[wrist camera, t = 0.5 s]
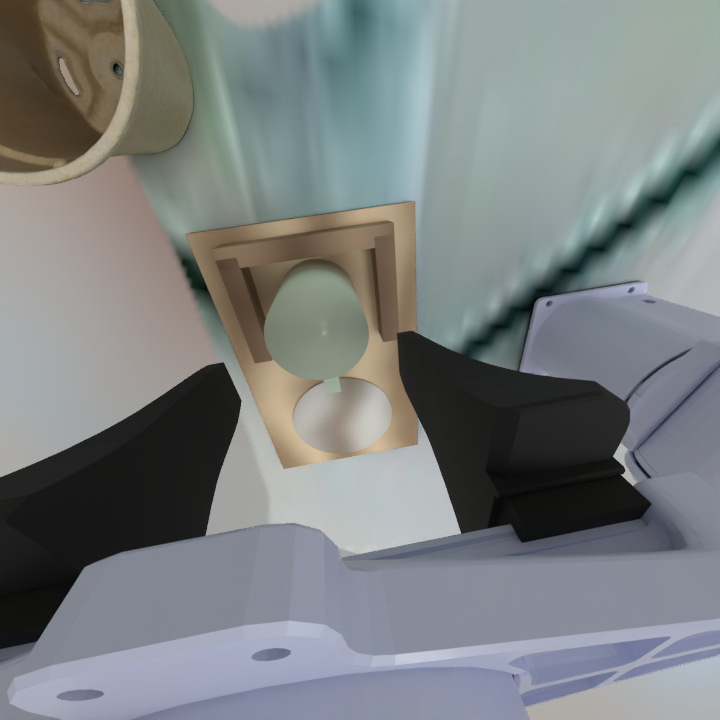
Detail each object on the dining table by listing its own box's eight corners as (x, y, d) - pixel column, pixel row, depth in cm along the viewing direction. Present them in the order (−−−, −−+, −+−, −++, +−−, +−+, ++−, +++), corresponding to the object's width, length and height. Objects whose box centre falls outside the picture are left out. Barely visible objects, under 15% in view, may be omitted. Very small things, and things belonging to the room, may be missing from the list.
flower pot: (268, 129, 15) (217, 65, 8) (139, 223, 16) (-8, 245, 9) (106, -161, 10) (-456, -1094, 3) (-55, 8, 12) (-703, -318, 4)
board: (411, 201, 17) (424, 202, 15) (415, 438, 29) (423, 458, 27) (190, 233, 17) (171, 238, 15) (284, 462, 28) (281, 484, 26)
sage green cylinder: (350, 253, 18) (363, 277, 12) (363, 355, 22) (377, 407, 17) (270, 264, 18) (248, 295, 12) (299, 366, 22) (292, 422, 16)
